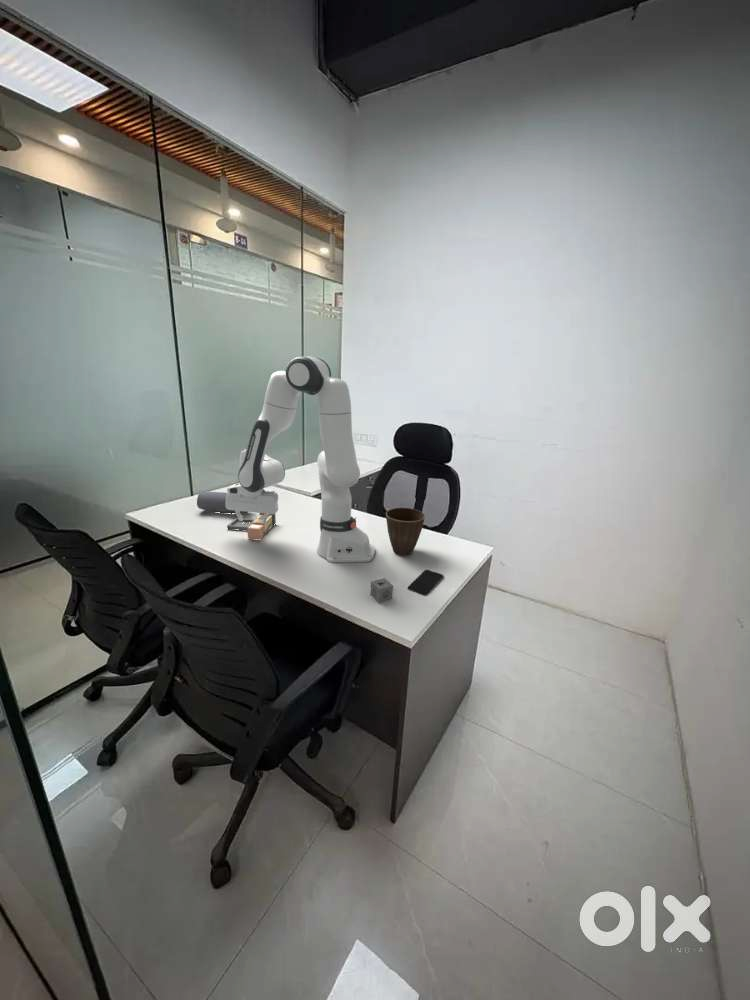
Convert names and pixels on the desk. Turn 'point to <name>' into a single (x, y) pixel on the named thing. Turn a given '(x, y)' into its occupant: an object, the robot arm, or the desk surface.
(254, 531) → the orange cube
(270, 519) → the block
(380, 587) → the dice cube
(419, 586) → the smartphone
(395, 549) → the plant pot
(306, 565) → the desk surface
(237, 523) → the tray
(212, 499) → the bluetooth speaker
